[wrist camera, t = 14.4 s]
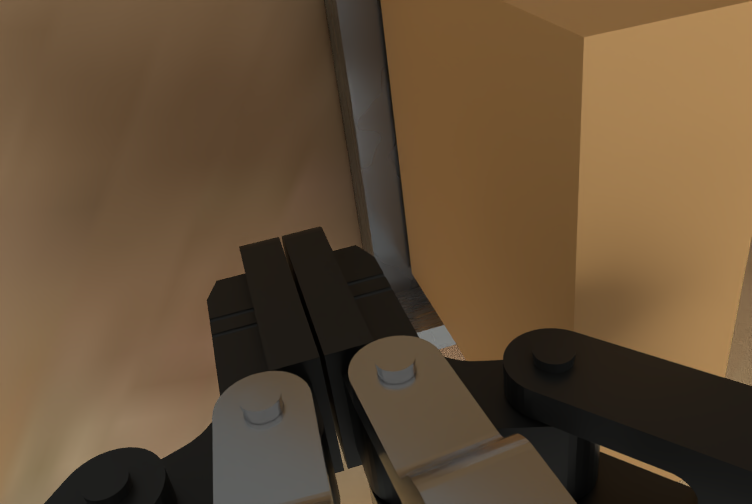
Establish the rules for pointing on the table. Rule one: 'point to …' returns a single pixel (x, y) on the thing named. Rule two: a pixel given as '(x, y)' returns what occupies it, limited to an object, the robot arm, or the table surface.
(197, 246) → the table surface
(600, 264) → the tan rectangular block
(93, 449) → the table surface
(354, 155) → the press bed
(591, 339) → the robot arm
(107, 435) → the table surface
